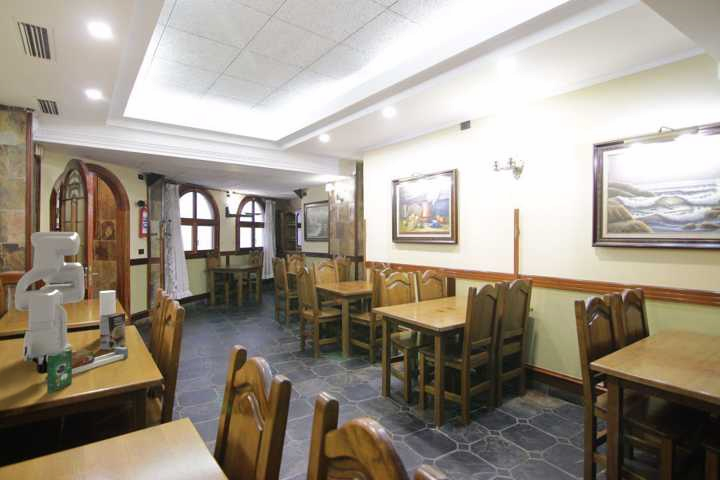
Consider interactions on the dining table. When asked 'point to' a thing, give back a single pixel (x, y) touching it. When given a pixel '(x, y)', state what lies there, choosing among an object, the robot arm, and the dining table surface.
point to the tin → (82, 358)
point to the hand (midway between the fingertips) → (42, 373)
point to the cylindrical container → (107, 303)
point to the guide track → (104, 359)
